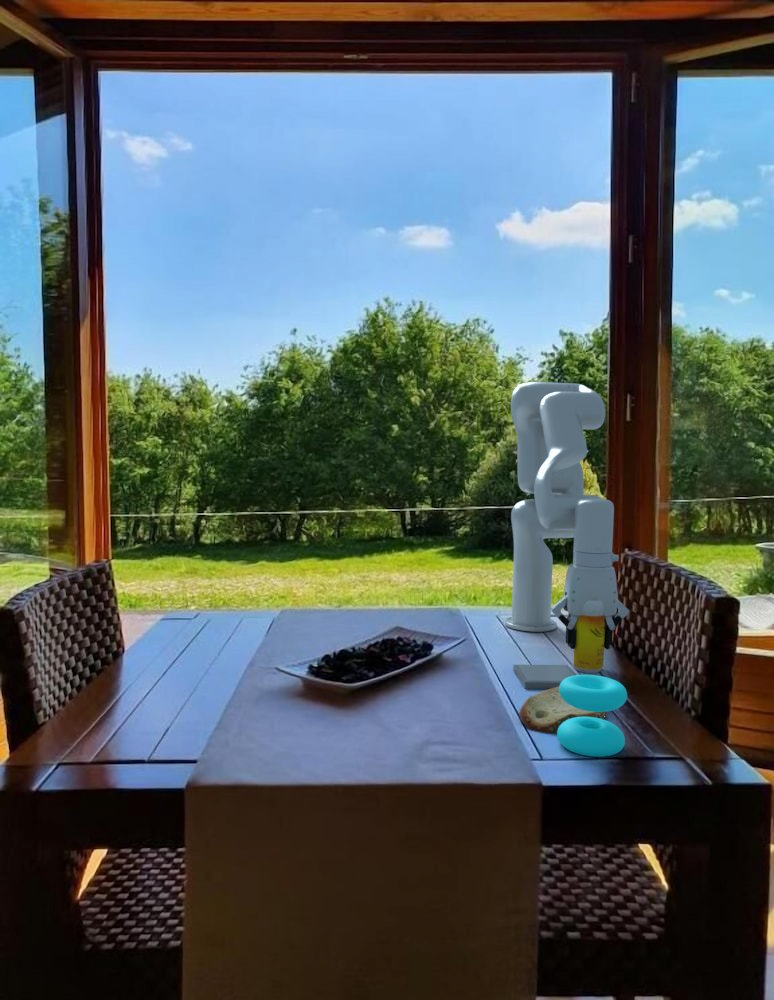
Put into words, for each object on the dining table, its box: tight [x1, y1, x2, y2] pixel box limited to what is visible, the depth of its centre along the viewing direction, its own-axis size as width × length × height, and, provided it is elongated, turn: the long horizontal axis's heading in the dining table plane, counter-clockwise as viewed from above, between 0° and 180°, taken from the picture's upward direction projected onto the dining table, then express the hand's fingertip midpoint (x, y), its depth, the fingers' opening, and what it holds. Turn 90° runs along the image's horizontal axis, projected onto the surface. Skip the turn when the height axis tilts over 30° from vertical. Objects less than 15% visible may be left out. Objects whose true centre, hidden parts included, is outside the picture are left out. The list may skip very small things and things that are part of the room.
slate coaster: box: [512, 664, 577, 690], centre depth 149 cm, size 11×11×1 cm
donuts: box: [556, 674, 628, 758], centre depth 117 cm, size 10×10×10 cm
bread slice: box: [518, 687, 608, 734], centre depth 131 cm, size 18×18×4 cm
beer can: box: [571, 599, 605, 674], centre depth 156 cm, size 6×6×15 cm
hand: (588, 646), depth 156 cm, fingers open, 6 cm apart
